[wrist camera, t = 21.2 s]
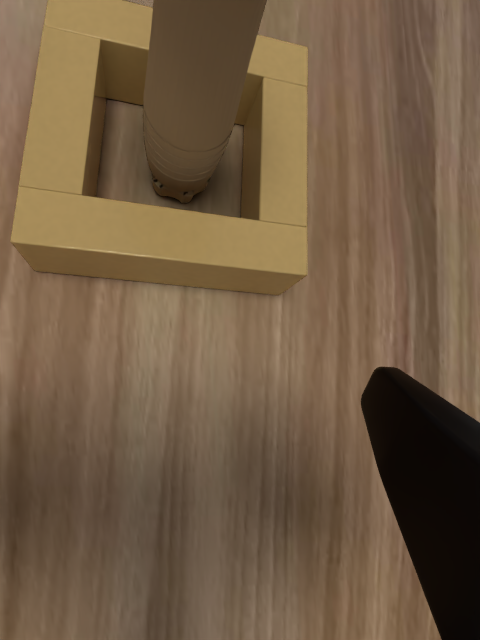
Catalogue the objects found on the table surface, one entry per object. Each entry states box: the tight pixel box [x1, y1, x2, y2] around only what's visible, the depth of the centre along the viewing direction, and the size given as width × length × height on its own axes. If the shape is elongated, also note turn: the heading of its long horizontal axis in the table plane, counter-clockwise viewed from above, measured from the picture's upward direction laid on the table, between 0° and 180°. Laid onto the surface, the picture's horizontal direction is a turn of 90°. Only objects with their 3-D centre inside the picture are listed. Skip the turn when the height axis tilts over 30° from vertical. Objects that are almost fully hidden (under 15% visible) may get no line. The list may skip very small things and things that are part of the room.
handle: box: [143, 0, 267, 203], centre depth 16 cm, size 5×6×15 cm
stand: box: [10, 0, 308, 295], centre depth 21 cm, size 13×13×4 cm
